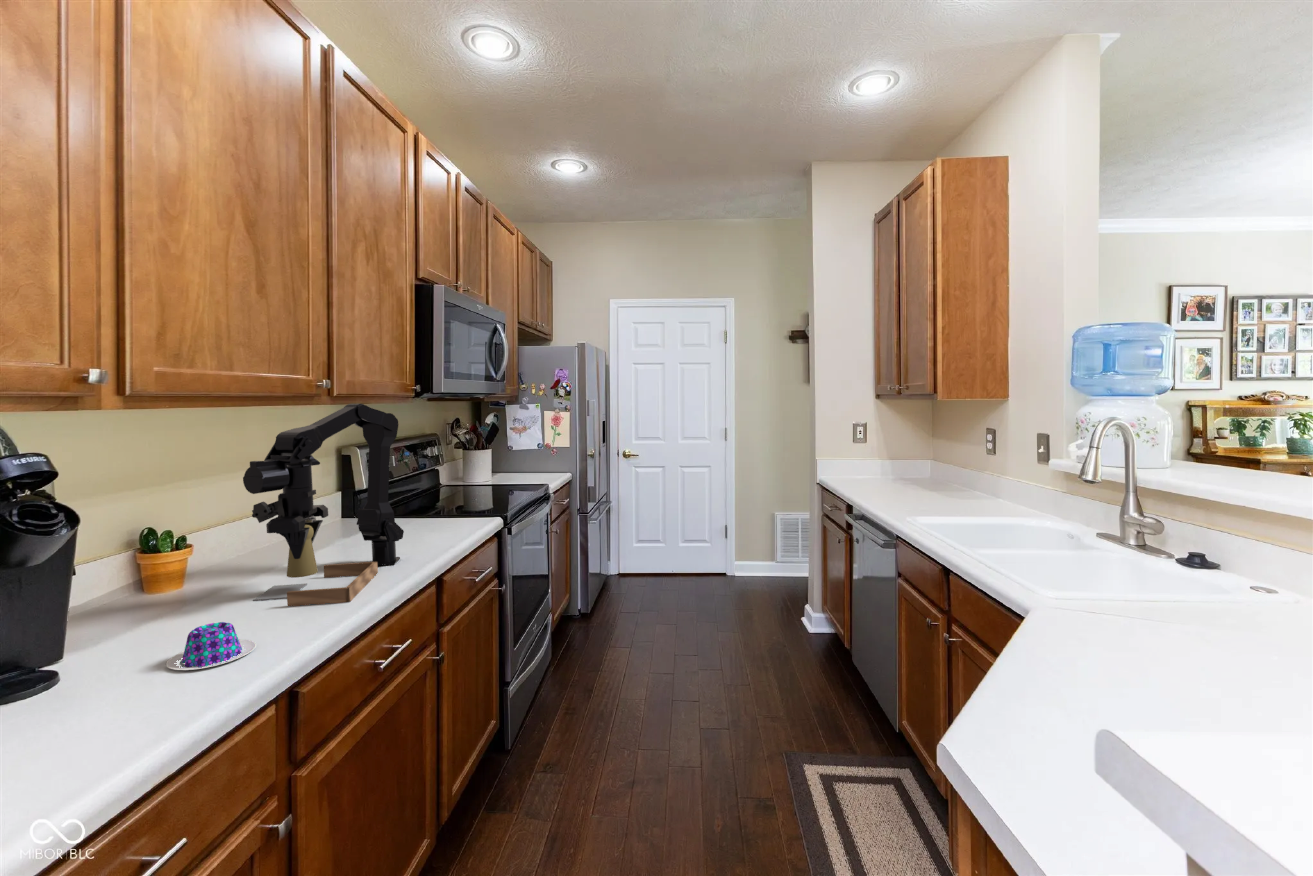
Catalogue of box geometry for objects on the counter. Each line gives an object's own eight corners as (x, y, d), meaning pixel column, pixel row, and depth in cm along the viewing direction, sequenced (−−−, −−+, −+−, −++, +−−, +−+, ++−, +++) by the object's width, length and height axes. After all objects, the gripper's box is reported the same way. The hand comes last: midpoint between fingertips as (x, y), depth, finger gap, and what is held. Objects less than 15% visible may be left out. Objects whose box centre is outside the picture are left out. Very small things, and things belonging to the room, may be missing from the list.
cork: (323, 570, 135) (321, 522, 135) (305, 577, 129) (303, 528, 129) (299, 569, 136) (296, 522, 135) (280, 577, 130) (277, 528, 129)
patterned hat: (251, 637, 107) (249, 609, 106) (261, 658, 98) (259, 628, 97) (165, 657, 99) (163, 627, 99) (167, 682, 90) (164, 648, 90)
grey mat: (274, 586, 136) (273, 585, 136) (307, 584, 137) (307, 583, 137) (253, 601, 126) (253, 599, 126) (288, 598, 128) (288, 597, 128)
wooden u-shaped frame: (325, 576, 144) (324, 564, 143) (377, 573, 146) (377, 561, 146) (287, 606, 122) (286, 592, 122) (349, 602, 125) (349, 588, 124)
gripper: (276, 483, 139) (279, 548, 140) (236, 495, 121) (240, 570, 122) (327, 481, 141) (330, 545, 142) (296, 492, 123) (300, 566, 124)
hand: (301, 556), depth 132 cm, fingers closed on cork, 4 cm apart
